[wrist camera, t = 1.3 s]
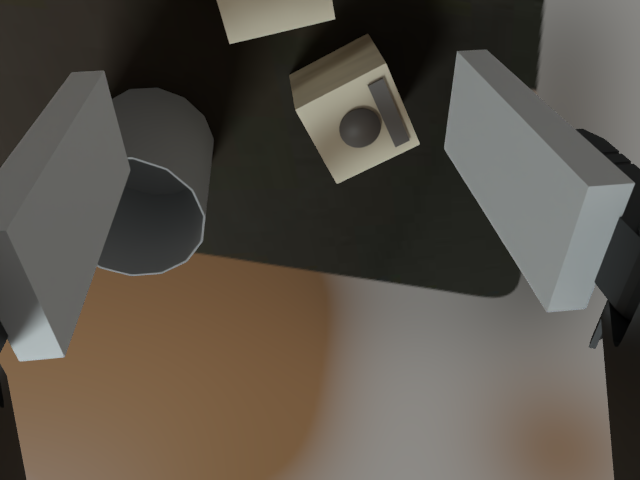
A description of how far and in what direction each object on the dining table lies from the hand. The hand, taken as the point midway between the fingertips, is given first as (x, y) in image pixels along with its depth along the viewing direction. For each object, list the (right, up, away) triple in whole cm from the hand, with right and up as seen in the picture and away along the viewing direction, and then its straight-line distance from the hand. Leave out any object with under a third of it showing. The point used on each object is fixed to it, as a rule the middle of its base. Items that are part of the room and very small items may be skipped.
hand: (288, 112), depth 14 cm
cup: (-11, +4, +25) cm, 28 cm away
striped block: (+3, +7, +24) cm, 26 cm away
